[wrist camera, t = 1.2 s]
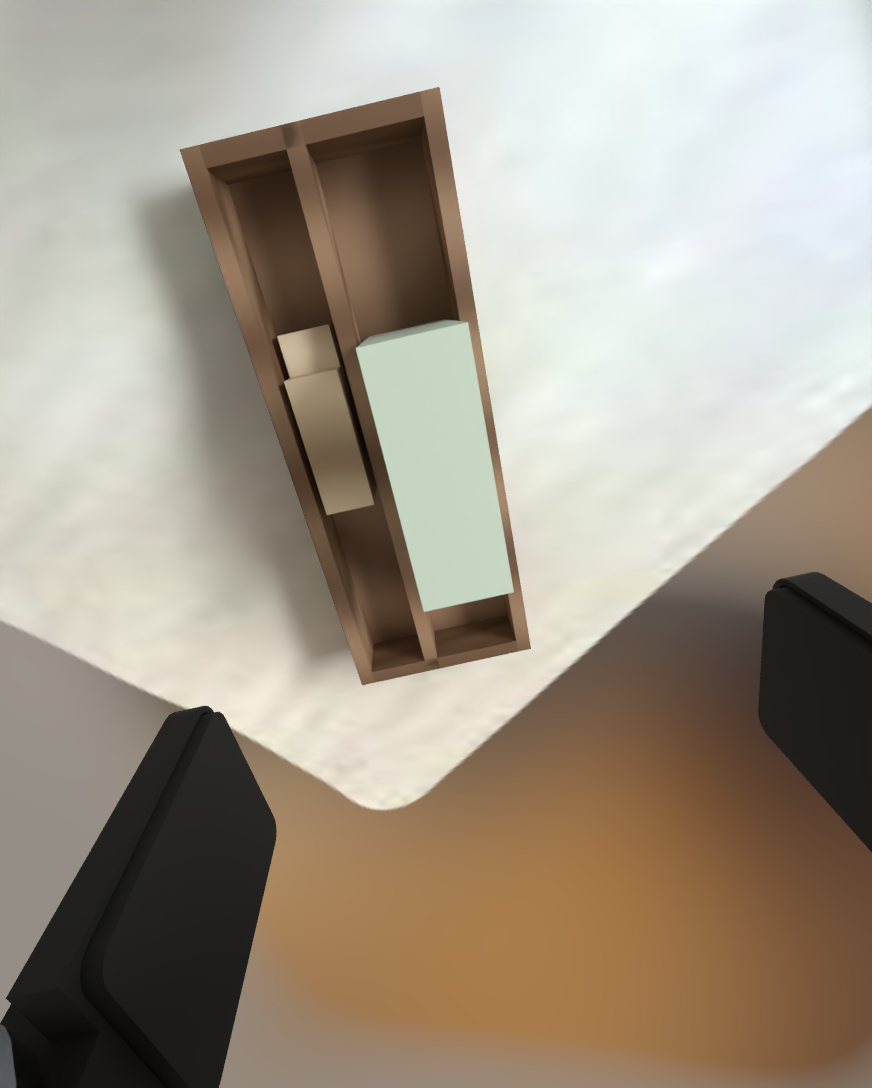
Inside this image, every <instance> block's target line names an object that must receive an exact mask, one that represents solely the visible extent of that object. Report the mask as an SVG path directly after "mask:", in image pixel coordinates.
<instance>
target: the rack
mask: <svg viewBox="0 0 872 1088" xmlns="http://www.w3.org/2000/svg"><path fill="white" fill-rule="evenodd" d="M180 152H181V155H182V158H183V161H184V164H185V167H186V170H187V173H188V176H189V178H190V181H191V184H192V187H193V190H194V193H195V196H196V199H197V202H198V205H199V208H200V211H201V214H202V217H203V220H204V222H205V225H206V228H207V231H208V234H209V237H210V240H211V243H212V246H213V249H214V252H215V255H216V258H217V261H218V264H219V266H220V269H221V272H222V275H223V278H224V281H225V284H226V287H227V290H228V293H229V296H230V299H231V302H232V305H233V308H234V310H235V313H236V316H237V319H238V322H239V325H240V328H241V331H242V334H243V337H244V340H245V343H246V346H247V349H248V351H249V354H250V357H251V360H252V363H253V366H254V369H255V372H256V375H257V378H258V381H259V384H260V387H261V390H262V393H263V395H264V398H265V401H266V404H267V407H268V410H269V413H270V416H271V419H272V422H273V425H274V428H275V431H276V434H277V437H278V439H279V442H280V445H281V448H282V451H283V454H284V457H285V460H286V463H287V466H288V469H289V472H290V475H291V478H292V481H293V483H294V486H295V489H296V492H297V495H298V498H299V501H300V504H301V507H302V510H303V513H304V516H305V519H306V522H307V524H308V527H309V530H310V533H311V536H312V539H313V542H314V545H315V548H316V551H317V554H318V557H319V560H320V563H321V566H322V568H323V571H324V574H325V577H326V580H327V583H328V586H329V589H330V592H331V595H332V598H333V601H334V604H335V607H336V610H337V612H338V615H339V618H340V621H341V624H342V627H343V630H344V633H345V636H346V639H347V642H348V645H349V648H350V651H351V654H352V656H353V659H354V662H355V665H356V668H357V671H358V674H359V677H360V680H361V683H362V685H365V684H370V683H374V682H379V681H384V680H388V679H393V678H397V677H402V676H407V675H411V674H416V673H420V672H425V671H430V670H434V669H439V668H444V667H448V666H453V665H457V664H462V663H467V662H471V661H476V660H481V659H485V658H490V657H494V656H499V655H504V654H508V653H513V652H517V651H522V650H527V649H531V647H530V641H529V634H528V628H527V622H526V616H525V610H524V604H523V598H522V591H521V585H520V579H519V573H518V567H517V561H516V555H515V548H514V542H513V536H512V530H511V524H510V518H509V512H508V505H507V499H506V493H505V487H504V481H503V475H502V469H501V462H500V456H499V450H498V444H497V438H496V432H495V426H494V419H493V413H492V407H491V401H490V395H489V389H488V383H487V376H486V370H485V364H484V358H483V352H482V346H481V340H480V333H479V327H478V321H477V315H476V309H475V303H474V296H473V290H472V284H471V278H470V272H469V266H468V260H467V253H466V247H465V241H464V235H463V229H462V223H461V217H460V210H459V204H458V198H457V192H456V186H455V180H454V174H453V167H452V161H451V155H450V149H449V143H448V137H447V131H446V124H445V118H444V112H443V106H442V100H441V94H440V88H439V87H437V88H433V89H429V90H425V91H421V92H416V93H412V94H408V95H404V96H400V97H396V98H392V99H387V100H383V101H379V102H375V103H371V104H367V105H363V106H358V107H354V108H350V109H346V110H342V111H338V112H334V113H329V114H325V115H321V116H317V117H313V118H309V119H305V120H300V121H296V122H292V123H288V124H284V125H280V126H276V127H272V128H267V129H263V130H259V131H255V132H251V133H247V134H243V135H238V136H234V137H230V138H226V139H222V140H218V141H214V142H209V143H205V144H201V145H197V146H193V147H189V148H185V149H180ZM443 319H445V320H454V321H462V322H468V325H469V331H470V337H471V343H472V349H473V355H474V360H475V366H476V372H477V378H478V384H479V390H480V396H481V402H482V408H483V413H484V419H485V425H486V431H487V437H488V443H489V449H490V455H491V460H492V466H493V472H494V478H495V484H496V490H497V496H498V502H499V508H500V513H501V519H502V525H503V531H504V537H505V543H506V549H507V555H508V560H509V566H510V572H511V578H512V584H513V590H514V592H513V593H508V594H504V595H499V596H495V597H490V598H485V599H481V600H476V601H472V602H467V603H463V604H458V605H453V606H449V607H444V608H440V609H435V610H431V611H426V612H424V611H423V607H422V603H421V599H420V595H419V591H418V587H417V584H416V580H415V576H414V572H413V568H412V564H411V560H410V556H409V553H408V549H407V545H406V541H405V537H404V533H403V529H402V526H401V522H400V518H399V514H398V510H397V506H396V502H395V499H394V495H393V491H392V487H391V483H390V479H389V475H388V471H387V468H386V464H385V460H384V456H383V452H382V448H381V444H380V441H379V437H378V433H377V429H376V425H375V421H374V417H373V413H372V410H371V406H370V402H369V398H368V394H367V390H366V386H365V383H364V379H363V375H362V371H361V367H360V363H359V359H358V356H357V352H356V347H358V346H359V345H360V344H361V343H362V342H364V341H365V340H366V339H367V338H368V337H370V336H374V335H378V334H383V333H387V332H391V331H396V330H400V329H404V328H409V327H413V326H417V325H422V324H426V323H430V322H434V321H439V320H443ZM327 324H333V328H334V332H335V335H336V339H337V343H338V347H339V350H340V354H341V358H342V361H343V365H344V369H345V372H346V376H347V380H348V383H349V387H350V391H351V394H352V398H353V402H354V405H355V409H356V413H357V417H358V420H359V424H360V428H361V431H362V435H363V439H364V442H365V446H366V450H367V453H368V457H369V461H370V464H371V468H372V472H373V475H374V479H375V483H376V494H375V503H374V505H370V506H366V507H361V508H357V509H352V510H348V511H344V512H339V513H335V514H330V515H327V514H326V511H325V508H324V505H323V502H322V499H321V496H320V492H319V489H318V486H317V483H316V480H315V477H314V474H313V471H312V468H311V464H310V461H309V458H308V455H307V452H306V449H305V446H304V443H303V440H302V436H301V433H300V430H299V427H298V424H297V421H296V418H295V415H294V412H293V408H292V405H291V402H290V399H289V396H288V393H287V390H286V387H285V384H284V381H286V380H287V379H289V378H290V376H289V373H288V369H287V366H286V363H285V360H284V357H283V354H282V350H281V347H280V344H279V341H278V338H277V336H280V335H284V334H289V333H293V332H297V331H301V330H306V329H310V328H314V327H319V326H323V325H327Z"/></svg>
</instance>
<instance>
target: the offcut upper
mask: <svg viewBox="0 0 872 1088" xmlns="http://www.w3.org/2000/svg"><path fill="white" fill-rule="evenodd" d="M284 384H285V387H286V390H287V393H288V396H289V399H290V402H291V405H292V408H293V412H294V415H295V418H296V421H297V424H298V427H299V430H300V433H301V436H302V440H303V443H304V446H305V449H306V452H307V455H308V458H309V461H310V464H311V468H312V471H313V474H314V477H315V480H316V483H317V486H318V489H319V492H320V496H321V499H322V502H323V505H324V508H325V511H326V514H327V515H330V514H335V513H339V512H344V511H348V510H352V509H357V508H361V507H366V506H370V505H374V503H375V492H374V488H373V484H372V481H371V477H370V473H369V470H368V466H367V462H366V459H365V455H364V451H363V448H362V444H361V441H360V437H359V433H358V430H357V426H356V422H355V419H354V415H353V411H352V408H351V404H350V400H349V397H348V393H347V390H346V386H345V382H344V379H343V375H342V371H341V368H340V366H339V367H335V368H331V369H326V370H322V371H318V372H313V373H309V374H305V375H300V376H296V377H292V378H289V379H287V380H286V381H284Z"/></svg>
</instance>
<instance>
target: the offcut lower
mask: <svg viewBox="0 0 872 1088" xmlns="http://www.w3.org/2000/svg"><path fill="white" fill-rule="evenodd" d="M277 338H278V341H279V344H280V347H281V350H282V354H283V357H284V360H285V363H286V366H287V369H288V373H289V376H290V378H292V377H296V376H300V375H305V374H309V373H313V372H318V371H322V370H326V369H331V368H335V367H339V366H340V368H341V371H342V375H343V379H344V382H345V386H346V390H347V393H348V397H349V400H350V404H351V408H352V411H353V415H354V419H355V422H356V426H357V430H358V433H359V437H360V441H361V444H362V448H363V451H364V455H365V459H366V462H367V466H368V470H369V473H370V477H371V481H372V484H373V488H374V492H375V494H376V483H375V479H374V475H373V472H372V468H371V464H370V461H369V457H368V453H367V450H366V446H365V442H364V439H363V435H362V431H361V428H360V424H359V420H358V417H357V413H356V409H355V405H354V402H353V398H352V394H351V391H350V387H349V383H348V380H347V376H346V372H345V369H344V365H343V361H342V358H341V354H340V350H339V347H338V343H337V339H336V335H335V332H334V328H333V324H327V325H323V326H319V327H314V328H310V329H306V330H301V331H297V332H293V333H289V334H284V335H280V336H277Z"/></svg>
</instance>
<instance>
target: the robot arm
mask: <svg viewBox="0 0 872 1088" xmlns="http://www.w3.org/2000/svg"><path fill="white" fill-rule="evenodd" d="M764 606H765V607H764V622H763V640H762V657H761V674H760V676H761V677H760V692H759V709H758V712H759V713H758V714H759V720H760V723H761V725H762V727H763V729H764V731H765V732H766V734H767V735H768V736H769V738H770V739H771V740H772V741H773V742H774V743H775V744H776V745H777V746H778V748H779V749H780V750H781V751H782V752H783V753H784V754H785V755H786V757H787V758H788V759H789V760H790V761H791V762H792V763H793V764H794V766H796V768H797V769H798V770H799V771H800V772H801V773H802V774H803V776H804V777H805V778H806V779H807V780H808V781H809V782H810V783H811V785H812V786H813V787H814V788H815V789H816V790H817V791H818V792H819V793H820V795H821V796H822V797H823V798H824V799H825V800H826V801H827V803H829V805H830V806H831V807H832V808H833V809H834V810H835V812H836V813H837V814H838V815H839V816H840V817H841V818H842V819H843V820H844V822H845V823H846V824H847V825H848V826H849V827H850V828H851V829H852V830H853V832H854V833H855V834H856V835H857V836H858V837H859V838H860V840H861V841H862V842H863V843H864V844H865V845H866V846H867V847H868V849H869V850H870V851H871V852H872V603H870V602H868V601H867V600H865V599H864V598H862V597H860V596H859V595H857V594H855V593H853V592H852V591H850V590H848V589H847V588H845V587H843V586H842V585H840V584H838V583H837V582H835V581H833V580H832V579H830V578H828V577H827V576H825V575H823V574H821V573H818V572H810V573H806V574H802V575H797V576H792V577H788V578H783V579H780V580H778V581H776V582H775V584H774V586H773V590H770V591H769V592H767V594H766V596H765V605H764ZM275 842H276V823H275V819H274V816H273V814H272V812H271V810H270V808H269V806H268V804H267V802H266V800H265V798H264V796H263V794H262V792H261V790H260V788H259V786H258V784H257V782H256V780H255V778H254V775H253V773H252V771H251V769H250V767H249V765H248V763H247V761H246V759H245V757H244V755H243V753H242V751H241V749H240V747H239V745H238V743H237V741H236V739H235V737H234V735H233V733H232V731H231V729H230V727H229V725H228V723H227V721H226V719H225V717H224V715H223V714H222V713H221V712H214V711H213V710H212V709H211V708H210V707H208V706H201V707H197V708H192V709H187V710H183V711H179V712H174V713H172V714H170V715H169V716H168V717H167V719H166V720H165V722H164V723H163V725H162V727H161V729H160V731H159V732H158V734H157V736H156V737H155V739H154V741H153V743H152V744H151V746H150V748H149V750H148V751H147V753H146V755H145V757H144V758H143V760H142V762H141V764H140V765H139V767H138V769H137V771H136V772H135V774H134V776H133V778H132V780H131V781H130V783H129V785H128V786H127V788H126V790H125V792H124V793H123V795H122V797H121V799H120V800H119V802H118V804H117V806H116V807H115V809H114V811H113V813H112V814H111V816H110V818H109V819H108V822H107V823H106V825H105V827H104V828H103V830H102V832H101V833H100V835H99V837H98V839H97V841H96V842H95V844H94V846H93V847H92V849H91V851H90V853H89V855H88V856H87V858H86V860H85V861H84V863H83V865H82V867H81V868H80V870H79V872H78V874H77V875H76V877H75V879H74V880H73V882H72V884H71V886H70V887H69V889H68V891H67V893H66V895H65V896H64V898H63V900H62V901H61V903H60V905H59V907H58V908H57V910H56V912H55V914H54V915H53V917H52V919H51V921H50V922H49V924H48V926H47V928H46V929H45V931H44V933H43V935H42V936H41V938H40V940H39V942H38V943H37V945H36V947H35V949H34V951H33V952H32V954H31V955H30V957H29V959H28V961H27V963H26V964H25V966H24V968H23V969H22V971H21V973H20V975H19V976H18V978H17V980H16V982H15V983H14V985H13V987H12V989H11V990H10V992H9V994H8V996H7V997H6V999H7V1000H8V1001H9V1002H10V1003H11V1005H10V1007H9V1009H8V1011H7V1012H6V1014H5V1016H4V1018H3V1020H2V1021H1V1023H0V1088H219V1085H220V1081H221V1077H222V1073H223V1069H224V1064H225V1060H226V1055H227V1051H228V1047H229V1042H230V1038H231V1034H232V1029H233V1025H234V1021H235V1016H236V1012H237V1008H238V1003H239V999H240V995H241V990H242V986H243V981H244V977H245V973H246V968H247V964H248V959H249V955H250V951H251V946H252V942H253V938H254V933H255V929H256V924H257V920H258V916H259V912H260V907H261V903H262V898H263V894H264V890H265V886H266V881H267V877H268V872H269V867H270V864H271V859H272V855H273V850H274V846H275Z"/></svg>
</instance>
